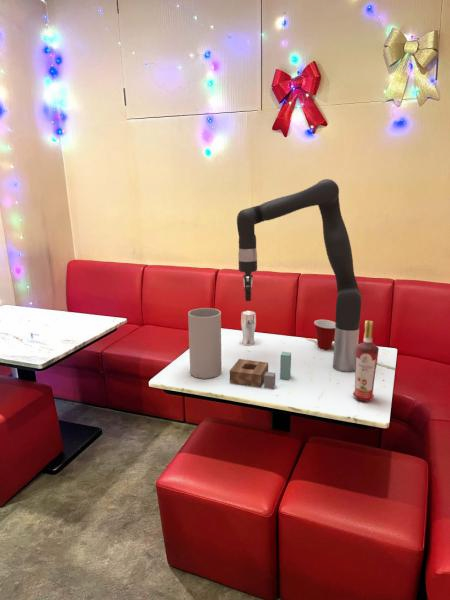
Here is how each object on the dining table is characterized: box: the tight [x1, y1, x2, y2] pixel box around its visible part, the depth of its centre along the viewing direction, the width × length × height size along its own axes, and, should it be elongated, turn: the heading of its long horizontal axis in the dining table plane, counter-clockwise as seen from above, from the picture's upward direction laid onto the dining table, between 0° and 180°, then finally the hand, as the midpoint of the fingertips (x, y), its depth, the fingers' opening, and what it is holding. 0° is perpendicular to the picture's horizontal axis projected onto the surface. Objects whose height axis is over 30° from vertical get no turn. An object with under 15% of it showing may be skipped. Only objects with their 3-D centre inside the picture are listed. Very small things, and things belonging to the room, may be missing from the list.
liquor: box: [352, 320, 380, 402], centre depth 145 cm, size 7×7×28 cm
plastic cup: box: [313, 319, 335, 351], centre depth 194 cm, size 11×11×12 cm
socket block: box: [229, 358, 269, 388], centre depth 164 cm, size 12×12×5 cm
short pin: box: [263, 371, 276, 390], centre depth 158 cm, size 3×3×5 cm
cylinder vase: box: [187, 307, 222, 380], centre depth 167 cm, size 12×12×25 cm
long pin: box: [279, 351, 292, 381], centre depth 164 cm, size 3×3×10 cm
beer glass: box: [240, 310, 257, 346], centre depth 200 cm, size 7×7×15 cm
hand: (248, 298), depth 177 cm, fingers open, 8 cm apart
